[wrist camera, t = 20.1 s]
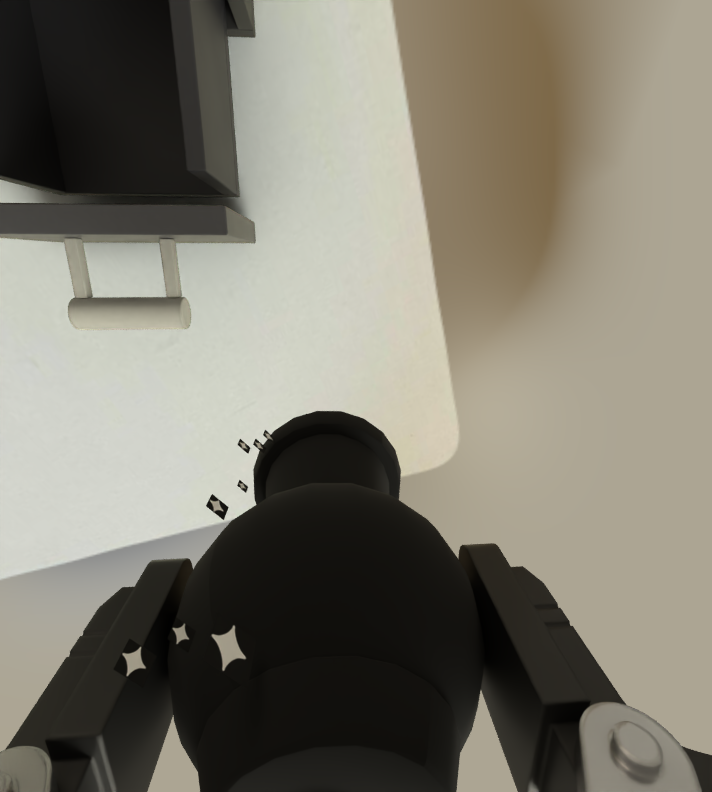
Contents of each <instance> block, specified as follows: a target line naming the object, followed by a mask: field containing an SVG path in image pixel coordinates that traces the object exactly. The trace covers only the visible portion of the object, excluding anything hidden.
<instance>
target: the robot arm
mask: <svg viewBox="0 0 712 792" xmlns="http://www.w3.org/2000/svg"><path fill="white" fill-rule="evenodd" d="M459 561H460V563H461V565H462V566H463V568H464V570H465V571H466V573H467V575H468V578H469V581H470V584H471V587H472V590H473V593H474V597H475V602H476V606H477V610H478V614H479V618H480V622H481V626H482V632H483V640H484V647H485V656H484V672H483V678H482V684H481V690H482V693H483V696H484V699H485V702H486V705H487V707H488V710H489V713H490V716H491V718H492V721H493V724H494V727H495V730H496V732H497V735H498V738H499V741H500V743H501V746H502V749H503V752H504V754H505V757H506V760H507V763H508V765H509V768H510V771H511V774H512V777H513V779H514V782H515V785H516V788H517V791H518V792H712V755H708V754H704V753H701V752H697V751H694V750H691V749H688V748H685V747H683V746H681V745H680V743H679V742H678V741H677V740H676V739H675V738H674V737H673V736H672V735H671V734H670V733H669V732H668V731H667V730H666V729H665V728H664V727H663V726H662V725H660V724H659V723H658V722H657V721H655V720H654V719H652V718H651V717H649V716H648V715H646V714H645V713H643V712H641V711H639V710H637V709H635V708H632V707H630V706H627V705H626V704H625V702H624V701H623V700H622V699H621V697H620V696H619V694H618V693H617V691H616V690H615V688H614V687H613V685H612V684H611V682H610V681H609V679H608V678H607V676H606V675H605V673H604V672H603V670H602V669H601V667H600V666H599V665H598V663H597V662H596V660H595V659H594V657H593V656H592V654H591V653H590V651H589V650H588V648H587V647H586V645H585V644H584V642H583V641H582V639H581V638H580V636H579V635H578V633H577V632H576V630H575V629H574V627H573V626H570V623H569V620H568V619H567V617H566V616H565V614H564V613H563V611H562V610H561V608H558V604H557V602H556V601H555V599H554V598H553V596H552V595H551V593H550V592H549V590H548V589H547V588H546V586H545V585H544V583H543V582H542V581H540V580H539V579H538V578H536V577H535V576H534V575H533V574H532V573H530V572H529V571H528V570H527V569H525V568H524V567H523V566H522V567H510V565H509V563H508V562H507V560H506V558H505V557H504V556H503V553H502V552H501V550H500V549H499V547H498V546H497V545H496V544H473V545H462V546H461V547H460V550H459ZM192 571H193V568H192V563H191V561H190V559H187V558H185V559H164V560H152V561H151V562H150V563H149V564H148V565H147V567H146V569H145V570H144V572H143V574H142V575H141V577H140V579H139V580H138V582H137V584H136V586H135V587H123V588H121V589H120V590H119V591H118V592H116V593H115V594H114V595H113V596H112V597H111V598H110V599H108V600H107V601H106V602H105V603H104V604H103V605H102V606H100V607H99V609H98V610H97V611H96V613H95V615H94V616H93V618H92V619H91V621H90V622H89V624H88V625H87V627H86V628H85V630H84V631H83V636H80V637H79V639H78V640H77V642H76V644H75V645H74V646H73V648H72V650H71V651H70V656H69V657H67V658H66V659H65V660H64V662H63V663H62V665H61V666H60V668H59V669H58V671H57V672H56V674H55V675H54V677H53V678H52V680H51V682H50V683H49V684H48V686H47V688H46V689H45V691H44V692H43V694H42V695H41V697H40V698H39V700H38V702H37V703H36V704H35V706H34V707H33V709H32V710H31V712H30V713H29V715H28V717H27V718H26V720H25V721H24V723H23V724H22V726H21V727H20V729H19V730H18V732H17V733H16V735H15V736H14V738H13V739H12V741H11V742H10V744H9V745H8V746H7V748H6V749H5V750H4V751H1V752H0V792H147V791H148V787H149V785H150V782H151V779H152V776H153V773H154V770H155V767H156V764H157V761H158V758H159V755H160V752H161V749H162V746H163V743H164V740H165V737H166V734H167V731H168V728H169V726H170V723H171V719H172V717H173V708H172V700H171V692H170V684H169V673H168V662H167V659H168V650H169V641H170V640H168V639H167V638H168V636H169V634H170V631H171V629H172V626H173V624H174V622H175V619H176V616H177V613H178V609H179V606H180V603H181V600H182V596H183V593H184V590H185V587H186V584H187V580H188V578H189V576H190V575H191V573H192ZM129 638H130V639H131V640H133V641H134V642H136V643H138V644H139V645H141V646H142V647H144V648H145V649H147V650H148V651H150V652H151V653H153V654H155V655H156V658H155V661H154V663H153V665H152V668H151V670H150V672H149V675H148V677H147V679H146V682H145V684H144V686H143V687H141V686H139V685H138V684H136V683H134V682H133V681H131V680H130V679H128V678H126V677H125V676H123V675H121V674H120V673H118V672H117V671H115V670H113V669H114V667H115V665H116V663H117V661H118V659H119V657H120V655H121V654H122V652H123V650H124V648H125V646H126V644H127V642H128V640H129Z"/></svg>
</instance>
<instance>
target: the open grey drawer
mask: <svg viewBox="0 0 712 792" xmlns="http://www.w3.org/2000/svg"><path fill="white" fill-rule="evenodd" d="M0 180H4V181H8V182H12V183H16V184H20V185H24V186H28V187H32V188H36V189H39V190H43V191H47V192H51V193H55V194H59V195H109V196H196V197H239V196H240V194H239V181H238V168H237V155H236V141H235V128H234V115H233V102H232V89H231V76H230V62H229V49H228V36H227V23H226V10H225V0H0ZM0 238H10V239H23V240H36V241H50V242H64V244H65V249H66V254H67V259H68V264H69V269H70V274H71V279H72V284H73V289H74V294H75V298H73V299H72V300H71V301H70V303H69V306H68V315H69V319H70V322H71V324H72V325H73V326H74V327H75V328H76V329H78V330H129V329H188V328H189V326H190V323H191V309H190V305H189V302H188V300H187V299H186V298H184V297H181V296H182V293H181V284H180V276H179V268H178V260H177V252H176V243H255V242H256V239H255V224H254V222H253V221H251V220H249V219H247V218H246V217H244V216H242V215H240V214H239V213H237V212H235V211H233V210H232V209H230V208H228V207H226V206H224V205H155V204H55V203H0ZM83 242H110V243H160V250H161V257H162V265H163V272H164V280H165V287H166V295H167V297H121V298H90V297H93V295H92V290H91V284H90V279H89V273H88V268H87V263H86V257H85V252H84V246H83Z"/></svg>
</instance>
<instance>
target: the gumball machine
mask: <svg viewBox="0 0 712 792" xmlns="http://www.w3.org/2000/svg"><path fill="white" fill-rule="evenodd" d="M263 435H264V436H265V437H266V438H267V439H268V440H267V441H266V442H265V443H264V445H262V444H261V443H260V442H259V441H258V440H257V439H255V441H254V444H253V445H255V446H256V447H257V448H258V449H259V450H260V451H259V454H258V457H257V460H256V463H255V466H254V469H253V470H254V494H255V502H256V504H257V505H256V506H254V507H252V508H251V509H249V510H248V511H246V512H245V513H243V514H242V515H240V516H239V517H237V518H235V519H234V520H232V521H231V522H230V523H229V525H228V526H227V527H226V528H225V529H224V530H223V531H222V532H221V534H220V535H219V536H218V537H217V539H216V540H215V541H214V542H213V544H212V545H211V546H210V548H209V549H208V550H207V551H206V553H205V554H204V555H203V556H202V558H201V559H200V560H199V561H198V563H197V564H196V566H195V568H194V569H193V571H192V573H191V575H190V576H189V578H188V580H187V584H186V587H185V590H184V593H183V596H182V600H181V603H180V606H179V609H178V613H177V616H176V619H175V622H174V624H173V626H172V629H171V631H170V634H169V636H168V638H167V639H168V640H170V641H169V650H168V659H167V662H168V673H169V684H170V692H171V700H172V708H173V715H174V722H175V725H176V729H177V732H178V735H179V738H180V741H181V744H182V746H183V748H184V749H185V751H186V753H187V754H188V756H189V758H190V759H191V761H192V763H193V765H194V766H195V768H196V769H197V771H198V776H199V785H200V792H456V790H457V778H458V767H459V757H460V752H461V750H462V748H463V746H464V744H465V742H466V740H467V738H468V736H469V734H470V732H471V730H472V727H473V723H474V719H475V715H476V711H477V707H478V701H479V695H480V690H481V684H482V678H483V672H484V656H485V647H484V640H483V632H482V626H481V622H480V618H479V614H478V610H477V606H476V602H475V597H474V593H473V590H472V587H471V584H470V581H469V578H468V575H467V573H466V571H465V570H464V568H463V566H462V565H461V563H460V561H459V559H458V558H457V557H456V555H455V554H454V553H453V551H452V550H451V549H450V547H449V546H448V544H447V543H446V542H445V540H444V539H443V537H442V536H441V535H440V533H439V532H438V531H437V529H436V528H435V527H434V526H433V525H432V524H431V523H430V522H429V521H428V520H427V519H426V518H424V517H423V516H421V515H420V514H418V513H417V512H415V511H414V510H413V509H411V508H409V507H408V506H406V505H405V504H404V503H402V502H401V501H399V489H400V474H401V469H400V466H399V462H398V458H397V455H396V451H395V449H394V448H393V446H392V445H391V443H390V442H389V441H388V439H387V438H386V436H385V435H384V433H383V432H382V431H380V430H379V429H377V428H376V427H375V426H373V425H372V424H371V423H369V422H368V421H366V420H365V419H363V418H360V417H357V416H354V415H351V414H348V413H344V412H341V411H316V412H313V413H309V414H306V415H302V416H299V417H295V418H293V419H292V420H290V421H289V422H287V423H286V424H284V425H283V426H281V427H280V428H278V429H277V430H275V431H274V432H273V433H272V434H271V435H270V434H269V433H268V432H267V431H266V430H265V432H264V434H263ZM238 445H239V446H240V447H241V448H242V449H243V450H244V451H246V452H247V453H249V450H250V447H249V446H248V445H247V444H245V443H244V442H243V441H242V440H241V439H240V441H239V443H238ZM237 486H238V487H240V488H241V489H242V490H243V491H244V492H246V491H247V488H248V487H247V486H246V485H245V484H244V483H243V482H242V481H240V480H239V483H238V485H237ZM206 506H207V507H208V508H209V509H210V510H212V511H213V512H214V513H216V514H217V515H218V516H219V517H221V518H222V519H223V520H224V518H225V515H226V512H227V510H228V507H227V506H226V505H225V504H224V503H223V502H221V501H220V500H219V499H218V498H216V497H215V496H214V495H213V494H212V495H211V497H210V499H209V501H208V503H207V505H206ZM155 658H156V655H155V654H153V653H151V652H150V651H148V650H147V649H145V648H144V647H142V646H141V645H139V644H138V643H136V642H134V641H133V640H131V639H130V638H129V640H128V642H127V644H126V646H125V648H124V650H123V652H122V654H121V655H120V657H119V659H118V661H117V663H116V665H115V667H114V669H113V670H115V671H117V672H118V673H120V674H121V675H123V676H125V677H126V678H128V679H130V680H131V681H133V682H134V683H136V684H138V685H139V686H141V687H143V686H144V684H145V682H146V679H147V677H148V675H149V672H150V670H151V668H152V665H153V663H154V661H155Z"/></svg>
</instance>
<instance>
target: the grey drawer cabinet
mask: <svg viewBox="0 0 712 792" xmlns="http://www.w3.org/2000/svg"><path fill="white" fill-rule="evenodd" d="M225 10H226V23H227V36H229V37H255V20H254V3H253V0H225Z"/></svg>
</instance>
